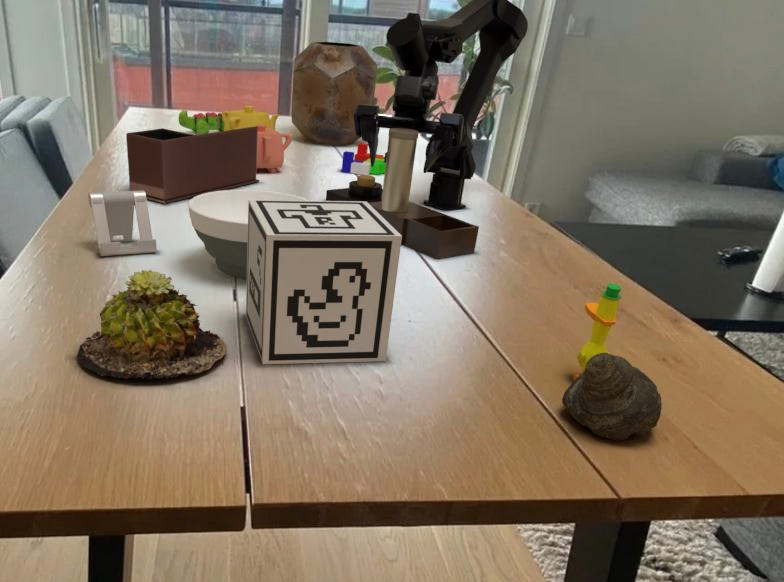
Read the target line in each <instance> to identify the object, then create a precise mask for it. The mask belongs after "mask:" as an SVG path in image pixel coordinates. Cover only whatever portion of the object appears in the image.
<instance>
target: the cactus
mask: <svg viewBox="0 0 784 582" xmlns="http://www.w3.org/2000/svg"><path fill="white" fill-rule="evenodd" d="M127 277H128V278H129V280H126V281H125V282H124V284H125V285H126V288H127V289H126V290H124V291H121V290H118V293H117V294H111V296H112V299H110V300H108V301H106V302H105V303H104V306H103V308H102V309H101V311H100V313H99V318H100V321H101V322H100V331H99V330H97V331H96V332H94V333H92V335H91V336H88V337H86V338H85V341H83V342H82V343H81V344H80V345H79V348H78V351H77V355H76V356H77V360H78V362H79V363H80V365H81V366H82V367H84V368H85V369H87V370H89V371H92V372H95V374H97V375H99V376H100V377H106V376H108V377H113V378H117V379H118V378H121V379H125V380H126V379H137V378H140V379H144V378H145V379H147V380H153V379H160V378H163V379H164V378H165V379H169V378H171V379H172V378H178V376H192V375H193V376H194V375H196V374H200V373H203V372H204V371H208V370H210V369H211V368H212V366H213V365H214V364H215V363H216V362H217V361H219V360H221V359H222V358H223V357H224V356H225V355H226V354H227V344H226V342H224V340H223V339H222V338H221V337H220V336H219V335H218V334H217V333H214V332H211V330H205V331H204V330H203V329H202V326H201V320H200V319H199V318H200V317H201V315H200V312H196V309H195V307H199V305H198V304H196V303H191V302H192V300H189V299H188V298H187V297H188V295H187V294H184V293H183V294H179V291H180V289H178V290H177V289H175V285H174V284H171V281H172V280H173V278H172V277H171V276H168V277H166V273H160V272H159V271H153V270H152V269H151V268H149V269H148V270H145V269H142V270H141V271H136V272H135V271H134V272H133V274H130V275H129V276H127ZM96 318H97V319H98V317H96ZM200 326H201V327H200Z"/></svg>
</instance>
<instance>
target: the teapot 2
mask: <svg viewBox="0 0 784 582" xmlns="http://www.w3.org/2000/svg"><path fill="white" fill-rule="evenodd" d="M256 126H257V127H258V129H257V162H256V174H257V173H258V169H267V172H268V173H271V174H276V173H277V170H276V169H280V168H283V165H284V163H285V151H286V150H287V148H288V147H289V146H290V145H291V143H292V140H293V135H292V134H290V133H286V132H283V133H282V132H281V133H280V132H279V131H278V130H276V129H275V130H274V129H265V128H266V125H264V124H257V125H256ZM283 138H285V141H284V142H283Z"/></svg>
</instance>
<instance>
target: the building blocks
mask: <svg viewBox="0 0 784 582" xmlns="http://www.w3.org/2000/svg"><path fill="white" fill-rule="evenodd" d="M368 149H369V146H368V143H364V142H363V143H362V142H359V143H357V149H356V154H355V151H348V150H345V151H343V153H342V161H341V162H342V163H341V172H342V173H349V174H355V175H369V176H370V174H372V175H380V174H385V167H386V158H387V151H386V152H384V154H379V153H378V154H377V153H376V159H375V163H374V166H373V167H372V166H371V161H370V152H368Z"/></svg>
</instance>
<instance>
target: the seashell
mask: <svg viewBox="0 0 784 582" xmlns="http://www.w3.org/2000/svg"><path fill="white" fill-rule="evenodd" d="M561 403H562V405H563V407H564V408H565V410H566V411H567V412H568V413H569V414H570V415H571V417H572V418H573V419H575V420H576V422H577V423H578V424H580V425H581V426H582V427H587V428H589V430H591V431H592V434H593V435H596V436H597V437H602V438H605V439H609V440H613V441H623V440H624V441H625V440H628V439H629V437H630V436H632V435H636V436H643V435H645V434H647V433H648V432H649V431H651V430H652V429H654V428H656V427H657V425H658V422H659V420H660V418H661V414H662V409H663V408H662V406H663V404H662V396H661V393H659V390H658V386H657V385H656V384H655V382H654V381H653V380H651V378H650V377H649V376H648V375H646V373H644V372H643V371H641V369H640V368H639V367H636V366H633V365H632V364H631V363H630V361H629V360H627V359H625V357H622V356H619V355H615V354H611V353H610V354H609V353H599V354H596V355H594V356H593V357H591V358H590V359H589V360H588V362H587V363H586V366H585V370H584V372H583V373H582V372H581V374H580V375H579V376H578V377H577V378H576V379H575V380H574V379H573V381H572V382H571V384H570V385H569V386H568V387H567V388H566V389H565V391H564V393H563V396H562V398H561Z"/></svg>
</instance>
